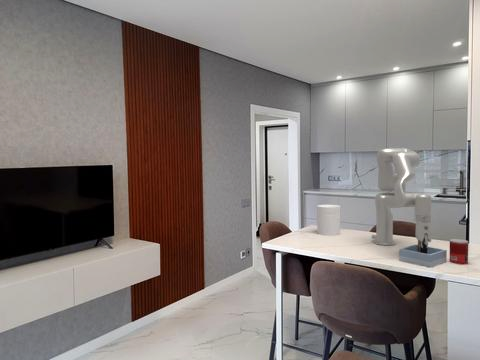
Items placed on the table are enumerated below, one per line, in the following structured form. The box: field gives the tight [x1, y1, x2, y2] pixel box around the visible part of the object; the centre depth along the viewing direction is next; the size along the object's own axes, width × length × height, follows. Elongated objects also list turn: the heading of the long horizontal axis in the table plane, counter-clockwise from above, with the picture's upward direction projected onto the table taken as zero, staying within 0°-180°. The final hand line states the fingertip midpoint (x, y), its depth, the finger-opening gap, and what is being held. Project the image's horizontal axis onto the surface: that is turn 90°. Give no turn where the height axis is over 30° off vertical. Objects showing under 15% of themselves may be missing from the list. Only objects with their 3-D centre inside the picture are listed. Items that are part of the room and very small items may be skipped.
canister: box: [316, 204, 341, 237], centre depth 257 cm, size 16×16×20 cm
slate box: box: [398, 244, 448, 268], centre depth 183 cm, size 16×16×6 cm
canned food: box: [449, 238, 469, 265], centre depth 180 cm, size 8×8×11 cm
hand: (422, 253), depth 183 cm, fingers closed on walnut peg, 3 cm apart
